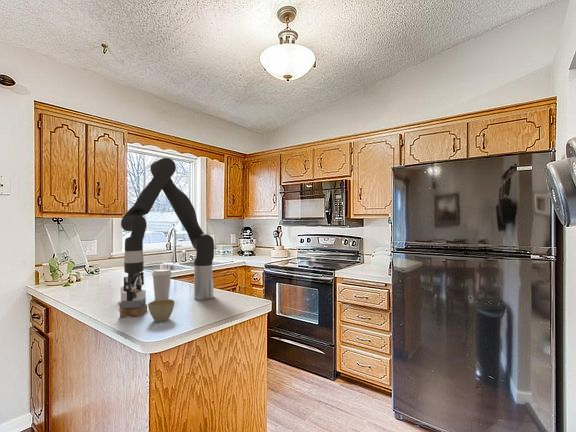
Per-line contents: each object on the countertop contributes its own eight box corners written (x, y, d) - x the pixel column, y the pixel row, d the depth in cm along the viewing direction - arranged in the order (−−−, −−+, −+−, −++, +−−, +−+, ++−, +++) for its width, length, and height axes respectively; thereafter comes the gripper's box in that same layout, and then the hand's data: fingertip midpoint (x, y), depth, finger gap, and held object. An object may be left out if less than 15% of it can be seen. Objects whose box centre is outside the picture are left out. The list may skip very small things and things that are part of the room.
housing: (145, 305, 138) (145, 287, 138) (140, 308, 133) (140, 290, 133) (127, 305, 137) (127, 288, 137) (121, 308, 132) (121, 290, 132)
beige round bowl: (153, 316, 131) (153, 299, 131) (177, 315, 132) (177, 298, 132) (144, 324, 121) (144, 306, 121) (170, 323, 122) (170, 305, 122)
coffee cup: (147, 300, 157) (147, 270, 158) (161, 296, 166) (161, 268, 166) (162, 302, 154) (162, 272, 154) (175, 297, 163) (175, 269, 163)
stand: (147, 311, 139) (147, 304, 139) (139, 316, 131) (139, 309, 131) (128, 311, 139) (128, 304, 139) (120, 317, 131) (119, 310, 131)
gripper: (135, 263, 128) (135, 302, 128) (149, 258, 142) (149, 294, 142) (116, 263, 128) (117, 303, 128) (132, 259, 142) (132, 294, 142)
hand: (134, 298), depth 135 cm, fingers open, 8 cm apart
